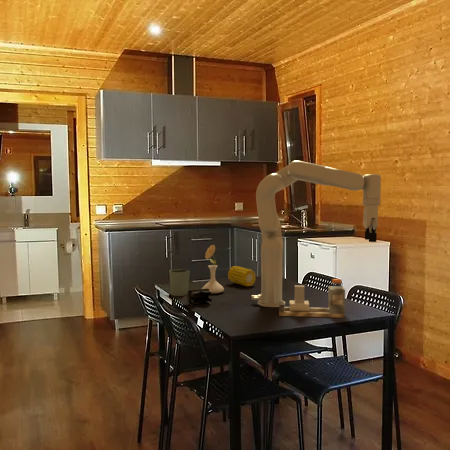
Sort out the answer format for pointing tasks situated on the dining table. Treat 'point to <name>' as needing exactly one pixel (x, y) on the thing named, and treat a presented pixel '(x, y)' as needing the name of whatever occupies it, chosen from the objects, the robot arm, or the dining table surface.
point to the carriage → (299, 300)
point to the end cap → (199, 297)
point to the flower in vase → (212, 273)
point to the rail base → (334, 308)
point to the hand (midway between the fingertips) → (370, 240)
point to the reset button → (336, 281)
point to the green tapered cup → (179, 282)
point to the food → (241, 276)
